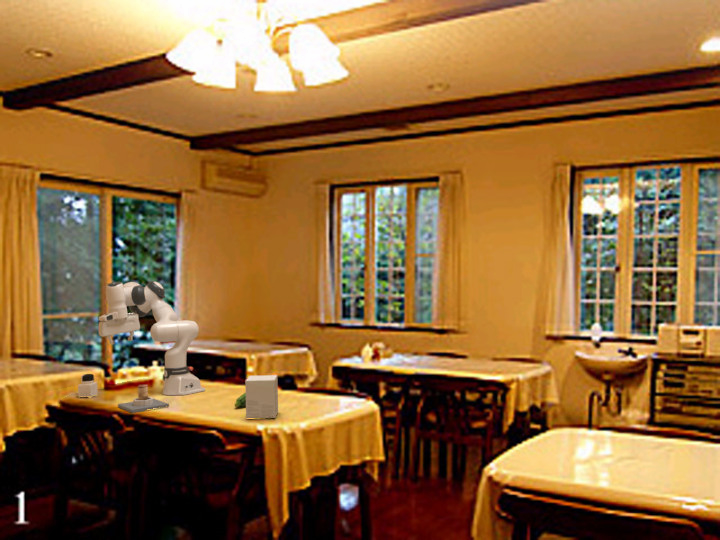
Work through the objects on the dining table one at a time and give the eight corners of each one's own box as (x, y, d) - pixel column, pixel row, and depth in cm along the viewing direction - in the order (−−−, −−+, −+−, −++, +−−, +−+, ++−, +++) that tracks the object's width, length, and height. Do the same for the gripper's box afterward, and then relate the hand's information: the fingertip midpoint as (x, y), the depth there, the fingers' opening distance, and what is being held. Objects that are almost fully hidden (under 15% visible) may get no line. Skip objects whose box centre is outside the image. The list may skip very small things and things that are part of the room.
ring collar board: (153, 401, 323) (153, 393, 323) (169, 406, 310) (168, 398, 310) (118, 407, 311) (117, 398, 311) (132, 413, 298) (132, 404, 298)
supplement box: (278, 412, 294) (278, 374, 294) (275, 419, 281) (274, 379, 281) (250, 413, 294) (249, 375, 294) (245, 420, 281) (244, 380, 281)
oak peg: (148, 402, 313) (147, 384, 313) (147, 404, 309) (146, 385, 309) (139, 403, 312) (138, 385, 312) (138, 405, 308) (137, 386, 308)
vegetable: (259, 384, 320) (238, 392, 302) (265, 397, 319) (244, 406, 301) (248, 390, 323) (226, 398, 304) (254, 403, 322) (233, 412, 303)
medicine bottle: (97, 395, 341) (97, 373, 341) (90, 398, 334) (90, 375, 334) (85, 395, 342) (84, 373, 342) (77, 398, 334) (77, 375, 334)
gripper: (134, 311, 325) (137, 338, 325) (95, 318, 310) (98, 346, 310) (140, 311, 320) (144, 338, 321) (101, 318, 305) (104, 346, 306)
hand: (121, 342), depth 315 cm, fingers open, 8 cm apart
